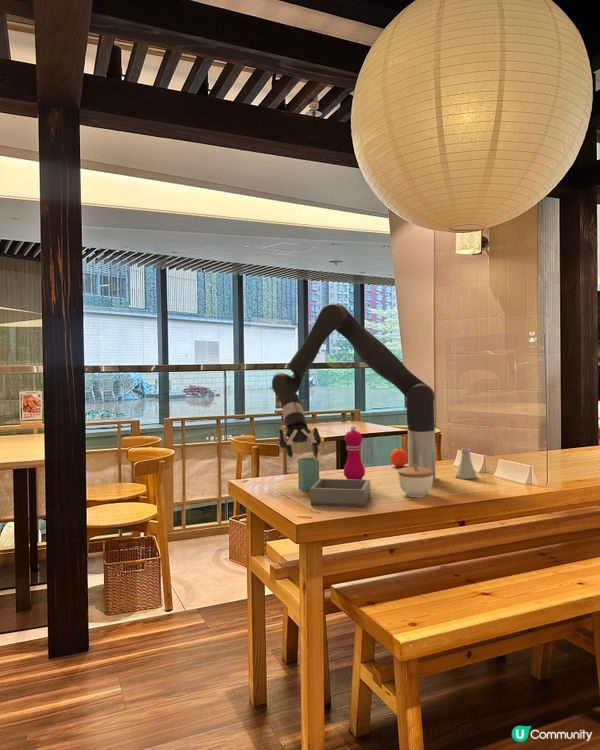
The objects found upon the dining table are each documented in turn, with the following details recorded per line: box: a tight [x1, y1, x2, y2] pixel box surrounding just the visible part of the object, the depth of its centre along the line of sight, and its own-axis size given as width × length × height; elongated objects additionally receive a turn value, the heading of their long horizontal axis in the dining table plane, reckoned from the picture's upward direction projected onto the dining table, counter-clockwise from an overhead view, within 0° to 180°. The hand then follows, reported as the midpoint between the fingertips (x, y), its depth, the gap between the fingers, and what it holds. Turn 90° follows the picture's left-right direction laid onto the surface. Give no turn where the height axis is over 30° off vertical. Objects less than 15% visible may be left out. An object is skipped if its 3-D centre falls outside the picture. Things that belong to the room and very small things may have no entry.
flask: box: [455, 448, 477, 480], centre depth 210 cm, size 7×7×10 cm
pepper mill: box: [343, 425, 366, 480], centre depth 202 cm, size 7×7×20 cm
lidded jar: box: [397, 465, 434, 498], centre depth 186 cm, size 11×11×9 cm
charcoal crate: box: [309, 478, 371, 508], centre depth 182 cm, size 16×14×5 cm
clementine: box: [387, 448, 408, 468], centre depth 232 cm, size 8×7×7 cm
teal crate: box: [297, 457, 320, 493], centre depth 197 cm, size 6×6×10 cm
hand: (303, 455), depth 203 cm, fingers open, 8 cm apart
